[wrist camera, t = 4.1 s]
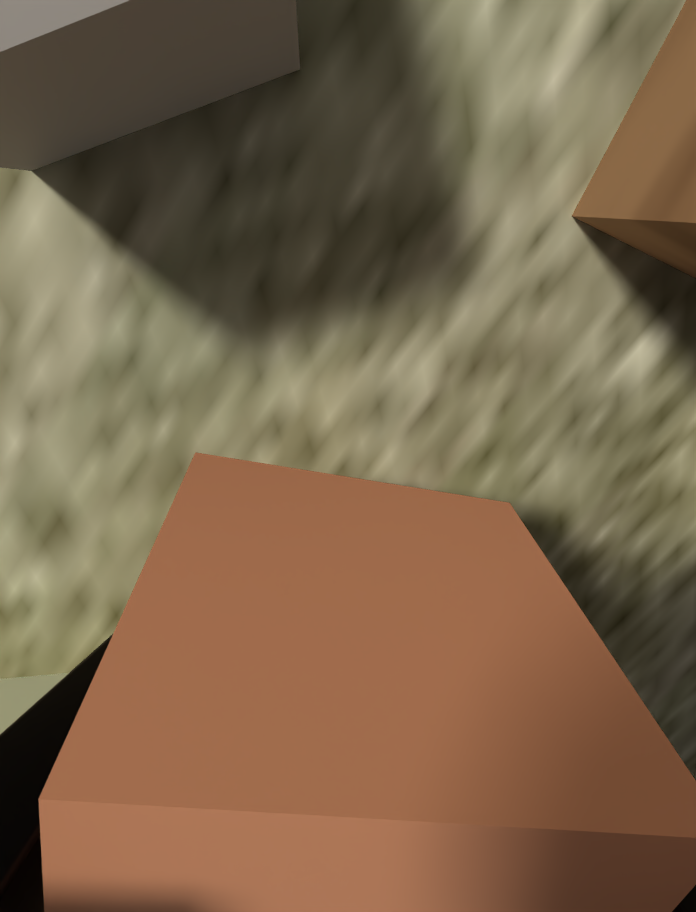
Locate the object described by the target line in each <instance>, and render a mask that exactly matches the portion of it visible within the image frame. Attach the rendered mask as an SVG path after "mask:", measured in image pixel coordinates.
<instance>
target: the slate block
mask: <svg viewBox="0 0 696 912" xmlns="http://www.w3.org/2000/svg"><path fill="white" fill-rule="evenodd" d="M297 70H300V58H299V42H298V25H297V9H296V0H0V167H2V168H11V169H19V170H28V171H32V170H35V169H38V168H40V167H43V166H46V165H48V164H51V163H54V162H56V161H59V160H62V159H64V158H67V157H69V156H72V155H75V154H77V153H80V152H83V151H85V150H88V149H91V148H93V147H96V146H99V145H101V144H104V143H107V142H109V141H112V140H114V139H117V138H120V137H122V136H125V135H128V134H130V133H133V132H136V131H138V130H141V129H144V128H146V127H149V126H152V125H154V124H157V123H159V122H162V121H165V120H167V119H170V118H173V117H175V116H178V115H181V114H183V113H186V112H189V111H191V110H194V109H197V108H199V107H202V106H204V105H207V104H210V103H212V102H215V101H218V100H220V99H223V98H226V97H228V96H231V95H234V94H236V93H239V92H242V91H244V90H247V89H249V88H252V87H255V86H257V85H260V84H263V83H265V82H268V81H271V80H273V79H276V78H279V77H281V76H284V75H287V74H289V73H292V72H294V71H297Z"/></svg>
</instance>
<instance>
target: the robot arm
mask: <svg viewBox="0 0 696 912" xmlns="http://www.w3.org/2000/svg"><path fill="white" fill-rule="evenodd" d="M112 636H113V634H112V635H111V636H110V637H109V638H108V639H107V640H106V641H104V642H103V643H102V644H101V645H100V646H99V647H98V648H97V649H95V650H94V651H93V652H92V653H91V654H90V655H89V656H88V657H87V658H85V659H84V660H83V661H82V662H81V663H80V664H79V665H78V666H76V667H75V668H74V669H73V670H72V671H71V672H70V673H69V674H67V675H66V676H65V677H64V678H63V679H62V680H61V681H60V682H58V683H57V684H56V685H55V686H54V687H53V688H52V689H51V690H49V691H48V692H47V693H46V694H45V695H44V696H43V697H42V698H40V699H39V700H38V701H37V702H36V703H35V704H34V705H33V706H31V707H30V708H29V709H28V710H27V711H26V712H25V713H24V714H22V715H21V716H20V717H19V718H18V719H17V720H16V721H15V722H13V723H12V724H11V725H10V726H9V727H8V728H7V729H6V730H4V731H3V732H2V733H1V734H0V912H44V895H43V876H42V857H41V838H40V819H39V800H38V799H39V797H40V795H41V792H42V790H43V788H44V786H45V784H46V781H47V779H48V777H49V775H50V773H51V770H52V768H53V766H54V764H55V761H56V759H57V757H58V755H59V753H60V750H61V748H62V746H63V744H64V742H65V739H66V737H67V735H68V733H69V731H70V728H71V726H72V724H73V722H74V720H75V717H76V715H77V713H78V711H79V708H80V706H81V704H82V702H83V700H84V697H85V695H86V693H87V691H88V689H89V686H90V684H91V682H92V680H93V678H94V675H95V673H96V671H97V669H98V667H99V664H100V662H101V660H102V658H103V655H104V653H105V651H106V649H107V647H108V644H109V642H110V640H111V638H112ZM672 912H696V885H695V886H694V887H693V888H692V890H691V891H690V892H689V893H688V894H687V895H686V896H685V897H684V899H683V900H682V901H681V902H680V903H679V904H678V905H677V906H676V908H675V909H674V910H673V911H672Z"/></svg>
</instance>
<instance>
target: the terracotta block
mask: <svg viewBox="0 0 696 912" xmlns="http://www.w3.org/2000/svg"><path fill="white" fill-rule="evenodd" d="M38 800H39V819H40V838H41V857H42V876H43V895H44V912H672V911H673V910H674V909H675V908H676V906H677V905H678V904H679V903H680V902H681V901H682V900H683V899H684V897H685V896H686V895H687V894H688V893H689V892H690V891H691V890H692V888H693V887H694V886H695V885H696V780H695V779H694V777H693V776H692V774H691V773H690V771H689V770H688V768H687V767H686V765H685V764H684V762H683V761H682V759H681V758H680V756H679V755H678V753H677V752H676V751H675V749H674V748H673V746H672V745H671V743H670V742H669V740H668V739H667V737H666V736H665V734H664V733H663V731H662V730H661V728H660V727H659V725H658V724H657V722H656V721H655V719H654V718H653V716H652V715H651V713H650V712H649V710H648V709H647V707H646V706H645V704H644V703H643V701H642V700H641V698H640V697H639V695H638V694H637V692H636V691H635V689H634V688H633V686H632V685H631V683H630V682H629V680H628V679H627V677H626V676H625V674H624V673H623V671H622V670H621V668H620V667H619V665H618V664H617V662H616V661H615V659H614V658H613V656H612V655H611V653H610V652H609V651H608V649H607V648H606V646H605V645H604V643H603V642H602V640H601V639H600V637H599V636H598V634H597V633H596V631H595V630H594V628H593V627H592V625H591V624H590V622H589V621H588V619H587V618H586V616H585V615H584V613H583V612H582V610H581V609H580V607H579V606H578V604H577V603H576V601H575V600H574V598H573V597H572V595H571V594H570V592H569V591H568V589H567V588H566V586H565V585H564V583H563V582H562V580H561V579H560V577H559V576H558V574H557V573H556V571H555V570H554V568H553V567H552V565H551V564H550V562H549V561H548V559H547V558H546V556H545V555H544V553H543V552H542V550H541V549H540V548H539V546H538V545H537V543H536V542H535V540H534V539H533V537H532V536H531V534H530V533H529V531H528V530H527V528H526V527H525V525H524V524H523V522H522V521H521V519H520V518H519V516H518V515H517V513H516V512H515V510H514V509H513V507H512V506H511V504H510V503H507V502H501V501H495V500H489V499H482V498H476V497H470V496H464V495H457V494H451V493H445V492H439V491H432V490H426V489H420V488H414V487H407V486H401V485H395V484H389V483H382V482H376V481H370V480H364V479H357V478H351V477H345V476H339V475H332V474H326V473H320V472H314V471H308V470H301V469H295V468H289V467H283V466H276V465H270V464H264V463H258V462H251V461H245V460H239V459H233V458H226V457H220V456H214V455H208V454H201V453H195V455H194V457H193V459H192V461H191V463H190V466H189V468H188V470H187V472H186V474H185V477H184V479H183V481H182V483H181V485H180V488H179V490H178V492H177V494H176V496H175V499H174V501H173V503H172V505H171V508H170V510H169V512H168V514H167V516H166V519H165V521H164V523H163V525H162V527H161V530H160V532H159V534H158V536H157V538H156V541H155V543H154V545H153V547H152V549H151V552H150V554H149V556H148V558H147V561H146V563H145V565H144V567H143V569H142V572H141V574H140V576H139V578H138V580H137V583H136V585H135V587H134V589H133V591H132V594H131V596H130V598H129V600H128V602H127V605H126V607H125V609H124V611H123V614H122V616H121V618H120V620H119V622H118V625H117V627H116V629H115V631H114V633H113V636H112V638H111V640H110V642H109V644H108V647H107V649H106V651H105V653H104V655H103V658H102V660H101V662H100V664H99V667H98V669H97V671H96V673H95V675H94V678H93V680H92V682H91V684H90V686H89V689H88V691H87V693H86V695H85V697H84V700H83V702H82V704H81V706H80V708H79V711H78V713H77V715H76V717H75V720H74V722H73V724H72V726H71V728H70V731H69V733H68V735H67V737H66V739H65V742H64V744H63V746H62V748H61V750H60V753H59V755H58V757H57V759H56V761H55V764H54V766H53V768H52V770H51V773H50V775H49V777H48V779H47V781H46V784H45V786H44V788H43V790H42V792H41V795H40V797H39V799H38Z"/></svg>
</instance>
